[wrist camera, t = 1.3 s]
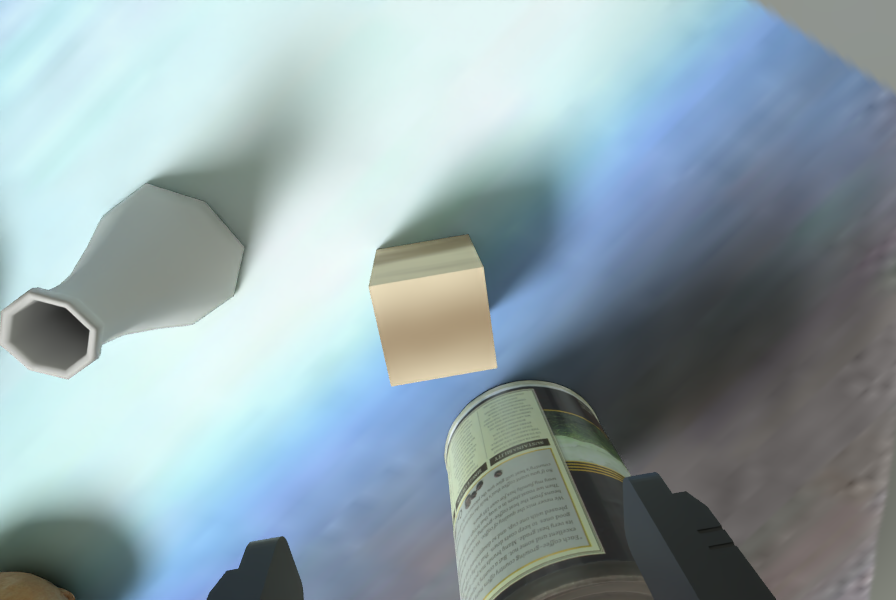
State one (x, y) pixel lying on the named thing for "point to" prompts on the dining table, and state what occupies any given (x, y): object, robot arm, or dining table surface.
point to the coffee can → (538, 499)
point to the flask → (127, 282)
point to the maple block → (432, 310)
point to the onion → (30, 588)
